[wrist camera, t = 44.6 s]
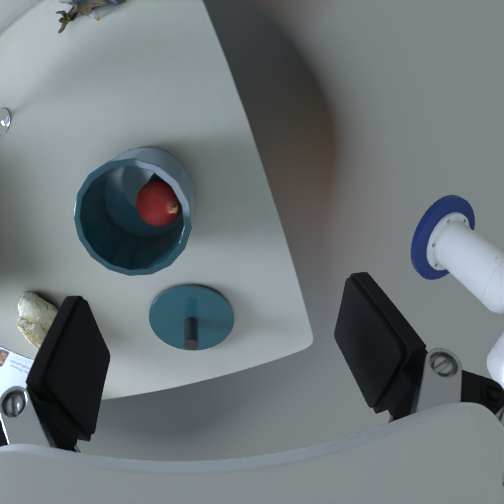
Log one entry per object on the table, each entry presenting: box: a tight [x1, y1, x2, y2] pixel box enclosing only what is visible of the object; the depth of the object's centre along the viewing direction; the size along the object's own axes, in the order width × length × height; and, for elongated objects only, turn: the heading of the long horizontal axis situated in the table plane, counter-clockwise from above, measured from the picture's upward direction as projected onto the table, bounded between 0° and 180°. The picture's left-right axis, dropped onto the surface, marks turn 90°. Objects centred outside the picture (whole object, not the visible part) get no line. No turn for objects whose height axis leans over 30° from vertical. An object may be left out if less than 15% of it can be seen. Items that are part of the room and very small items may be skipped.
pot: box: [74, 147, 194, 276], centre depth 33 cm, size 14×14×10 cm
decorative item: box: [17, 292, 58, 349], centre depth 40 cm, size 12×9×10 cm
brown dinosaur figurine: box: [56, 0, 125, 33], centre depth 19 cm, size 8×7×9 cm
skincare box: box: [0, 347, 34, 398], centre depth 40 cm, size 21×5×16 cm, turn 72°
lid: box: [149, 285, 234, 350], centre depth 45 cm, size 15×15×7 cm
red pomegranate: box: [136, 179, 182, 226], centre depth 33 cm, size 6×6×8 cm
